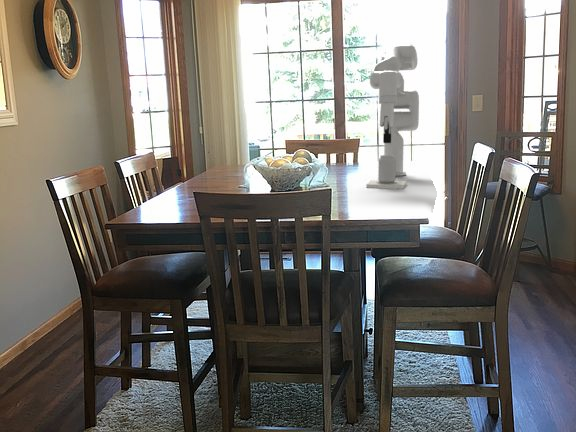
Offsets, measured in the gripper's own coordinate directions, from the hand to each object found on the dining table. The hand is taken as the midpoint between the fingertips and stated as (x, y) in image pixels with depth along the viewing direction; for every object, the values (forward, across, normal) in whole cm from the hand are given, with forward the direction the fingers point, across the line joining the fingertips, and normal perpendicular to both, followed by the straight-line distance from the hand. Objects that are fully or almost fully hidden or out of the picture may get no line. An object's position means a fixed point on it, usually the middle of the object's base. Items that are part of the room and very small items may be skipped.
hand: (387, 142), depth 268 cm
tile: (+19, 0, 0) cm, 19 cm away
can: (+18, 0, 0) cm, 18 cm away
